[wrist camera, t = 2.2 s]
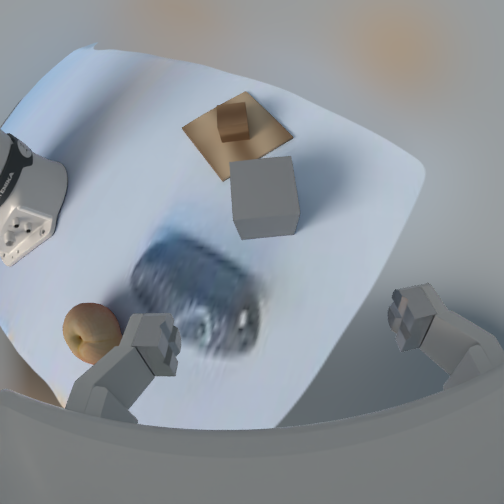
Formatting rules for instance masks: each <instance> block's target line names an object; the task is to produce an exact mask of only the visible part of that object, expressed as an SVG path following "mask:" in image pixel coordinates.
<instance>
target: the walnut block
mask: <svg viewBox="0 0 504 504" xmlns="http://www.w3.org/2000/svg"><path fill="white" fill-rule="evenodd" d="M217 128H218V131H219V135H220V138H221V141H222V143H225V142H233V141H241V140H250V137H249V127H248V118H247V111H246V104H245V102H240V103H232V104H224V105H217Z"/></svg>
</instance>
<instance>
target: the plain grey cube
mask: <svg viewBox="0 0 504 504" xmlns="http://www.w3.org/2000/svg"><path fill="white" fill-rule="evenodd" d="M229 166H230V182H231V198H232V213H233V221H234V224H235V226H236V228H237V230H238V233H239V235H240V237H241V240H245V239H255V238H265V237H276V236H286V235H294V233H295V230H296V226H297V223H298V220H299V216H300V209H299V202H298V195H297V189H296V183H295V176H294V170H293V164H292V159H291V156H285V157H273V158H262V159H252V160H243V161H235V162H229Z"/></svg>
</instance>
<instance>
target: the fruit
mask: <svg viewBox="0 0 504 504" xmlns="http://www.w3.org/2000/svg"><path fill="white" fill-rule="evenodd" d="M63 335H64V338H65V341H66V343H67V344H68V346H69V348H70V349H71V351H72V353H73V354H74V355H75V356H76V357H78V358H79V359H81V360H82V361H84V362H87V363H90V364H93V365H94V364H95V363H97V362H98V361H99V360H100V359H101V358H102V357H104V356H105V355H106V354H107V353H108V352H109V351H110V350H112V349H113V348H114V347H115V346H119V344H120V342H121V339H122V334H121V331H120V326H119V323H118V321H117V319H116V317H115V315H114V314H113V313H112V312H111V311H110V310H109V309H108V308H107V307H105V306H103V305H101V304H96V303H81V304H79V305H77V306H75V307H73V308H72V309H71V310H70V311H69V312H68V314H67V315H66V317H65V320H64V324H63Z"/></svg>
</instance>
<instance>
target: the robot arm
mask: <svg viewBox="0 0 504 504" xmlns="http://www.w3.org/2000/svg"><path fill="white" fill-rule="evenodd" d="M66 189H67V172H66V169H65V167H64V166H63V165H62V164H61V163H59V162H56V161H52V160H49V159H46V158H44V157H42V156H40V155H38V154H36V153H34V152H32V151H31V149H30V148H29V147H28V146H27V145H26V144H25V143H23V142H22V141H20V140H19V139H17V138H16V137H14V136H13V135H12V134H9V133H8V134H6V133H5V132H3V131H2V130H1V129H0V256H1V258H2V260H3V262H4V263H5V264H6V265H7V266H9V267H11V266H12V265H14V264H15V263H16V262H17V261H19V260H20V259H21V258H22V257H24V256H25V255H26V254H28V253H29V252H30V251H32V250H33V249H34V248H36V247H37V246H38V245H40V244H41V243H43V242H44V241H45V240H47V239H48V238H50V237H51V236H52V235H53V233H54V230H55V226H56V219H57V215H58V212H59V210H60V208H61V205H62V203H63V200H64V197H65V194H66ZM392 299H393V301H394V302H393V303H392V304H391V305H390V306H389V310H388V322H389V326H390V328H391V330H392V331H394V332H395V333H397V335H396V338H395V340H396V341H397V344H398V346H399V349H400V351H401V352H404V351H408V350H412V349H416V348H420V350H421V351H423V352H424V353H425V354H426V355H427V356H428V357H430V358H431V359H432V360H433V361H434V362H435V363H436V364H438V365H439V366H440V367H441V368H442V369H443V370H444V371H446V372H447V373H448V374H449V375H450V377H449V378H448V380H447V381H446V382H445V384H444V386H443V389H444V391H441V392H438V393H436V394H433V395H430V396H427V397H424V398H421V399H418V400H415V401H413V402H409V403H406V404H403V405H399V406H396V407H392V408H389V409H385V410H381V411H377V412H373V413H369V414H365V415H360V416H356V417H351V418H346V419H340V420H335V421H329V422H323V423H316V424H309V425H301V426H293V427H283V428H270V429H252V430H197V429H180V428H168V427H158V426H149V425H141V424H137V423H138V420H137V419H136V417H135V416H134V415H133V414H131V413H130V412H129V411H128V409H129V408H130V407H131V406H132V405H133V403H134V402H135V401H136V400H137V398H138V397H139V396H140V395H141V394H142V392H143V391H144V390H145V389H146V387H147V386H148V385H149V384H150V383H151V381H152V380H153V379H154V378H155V377H154V376H176V370H177V365H178V361H177V359H176V356H177V355H178V354H179V353H180V350H181V336H180V332H179V330H178V328H177V327H175V326H174V325H173V324H174V318H173V316H172V314H170V313H145V314H132V315H131V317H130V319H129V321H128V324H127V326H126V329H125V331H124V334H123V337H122V339H121V342H120V344H119V346H115V347H114V348H113V349H112V350H110V351H109V352H108V353H107V354H106V355H105V356H104V357H102V358H101V359H100V360H99V361H98V362H97V363H95V364H94V365H93V366H92V367H91V368H90V369H89V370H87V371H86V372H85V373H84V374H83V375H82V376H81V377H79V378H78V379H77V380H76V381H75V383H74V385H73V388H72V390H71V393H70V396H69V399H68V401H67V404H66V407H65V409H64V408H61V407H57V406H54V405H51V404H48V403H45V402H41V401H39V400H36V399H33V398H30V397H27V396H25V395H22V394H19V393H17V392H14V391H12V390H9V389H2V390H0V504H504V351H503V349H502V348H501V346H500V344H499V343H498V341H497V339H496V338H495V336H493V335H492V334H490V333H488V332H487V331H485V330H483V329H482V328H480V327H479V326H477V325H475V324H473V323H472V322H470V321H469V320H467V319H465V318H463V317H462V316H460V315H459V314H457V313H455V312H453V311H448V309H447V308H446V306H445V305H444V303H443V302H442V300H441V298H440V297H439V295H438V294H437V293H436V291H435V290H434V288H433V287H432V285H431V284H429V283H426V284H421V285H417V286H411V287H406V288H400V289H395V291H394V292H393V295H392Z"/></svg>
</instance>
